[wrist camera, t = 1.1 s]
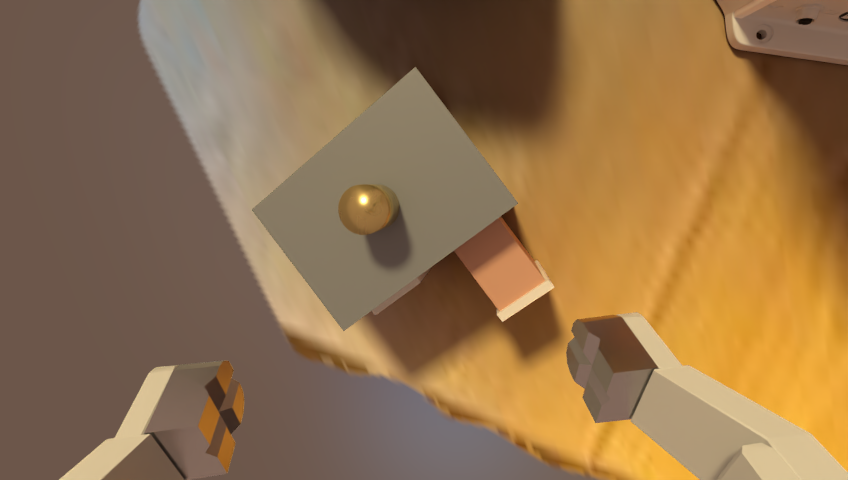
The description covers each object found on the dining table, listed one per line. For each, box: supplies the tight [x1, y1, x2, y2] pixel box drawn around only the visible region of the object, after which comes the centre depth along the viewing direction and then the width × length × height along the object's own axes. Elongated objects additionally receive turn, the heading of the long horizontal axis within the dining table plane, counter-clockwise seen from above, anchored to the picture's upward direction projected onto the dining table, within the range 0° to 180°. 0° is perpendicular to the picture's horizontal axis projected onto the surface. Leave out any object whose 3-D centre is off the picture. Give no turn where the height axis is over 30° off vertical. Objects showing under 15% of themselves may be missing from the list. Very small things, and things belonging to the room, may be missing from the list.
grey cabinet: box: [252, 67, 518, 331], centre depth 39 cm, size 13×18×13 cm
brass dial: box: [338, 184, 400, 235], centre depth 31 cm, size 4×4×4 cm
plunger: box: [454, 216, 554, 322], centre depth 40 cm, size 12×5×9 cm, turn 38°
